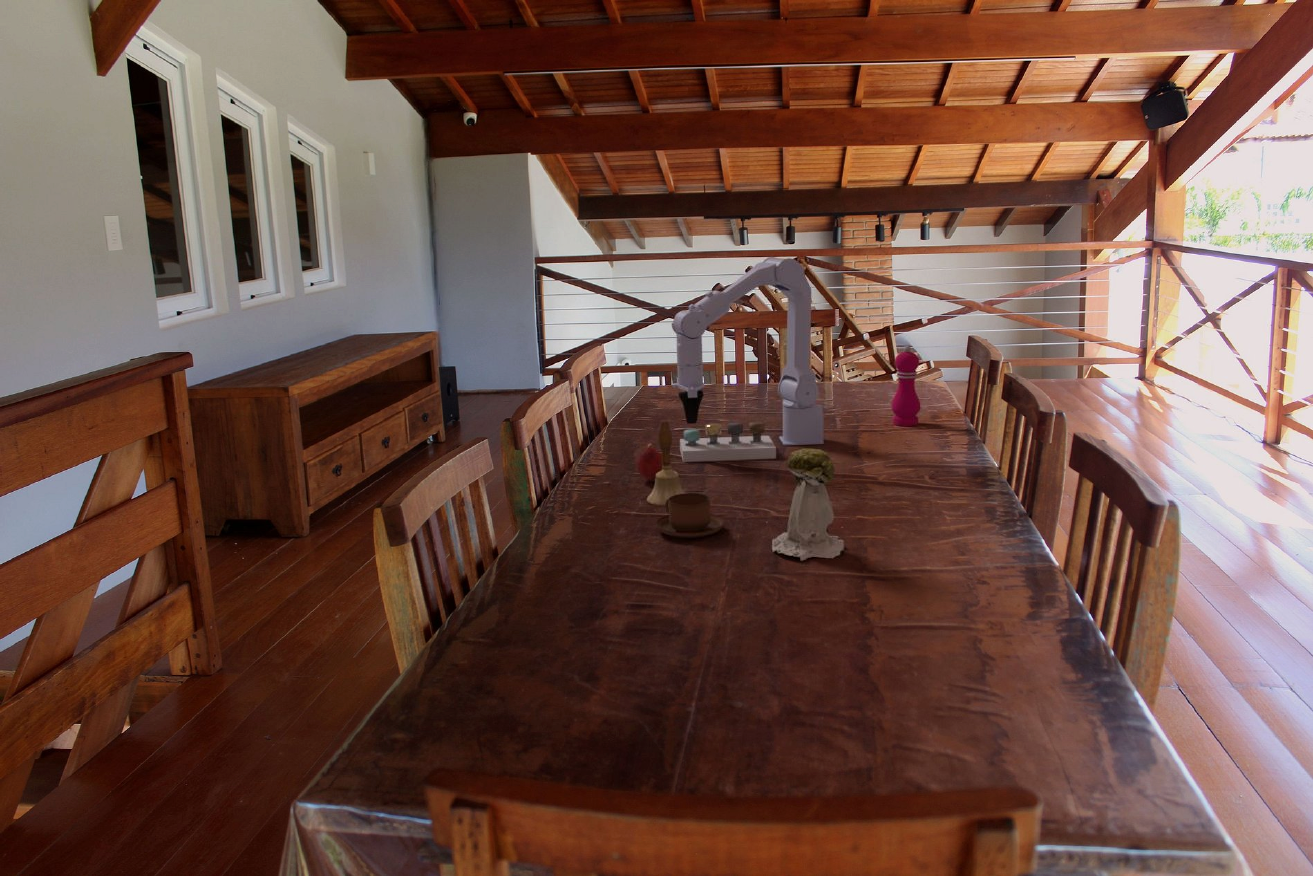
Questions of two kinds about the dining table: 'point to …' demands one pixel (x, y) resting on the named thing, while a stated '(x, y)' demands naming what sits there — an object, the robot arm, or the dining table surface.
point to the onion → (649, 463)
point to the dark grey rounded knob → (735, 431)
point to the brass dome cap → (713, 432)
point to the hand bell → (665, 471)
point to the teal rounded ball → (691, 436)
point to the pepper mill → (906, 389)
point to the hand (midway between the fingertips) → (691, 423)
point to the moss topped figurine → (809, 508)
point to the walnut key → (756, 430)
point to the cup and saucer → (689, 517)
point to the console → (728, 449)
